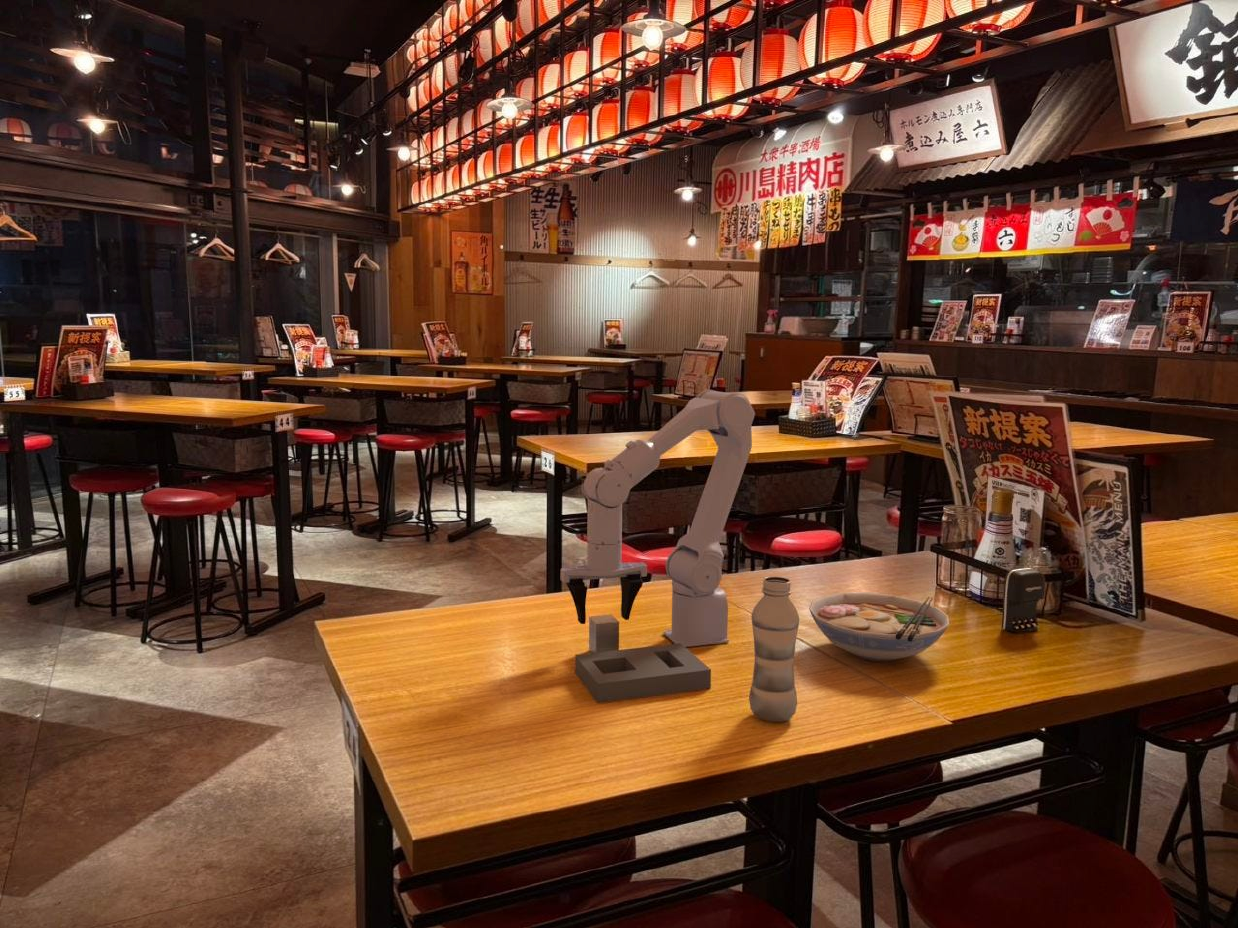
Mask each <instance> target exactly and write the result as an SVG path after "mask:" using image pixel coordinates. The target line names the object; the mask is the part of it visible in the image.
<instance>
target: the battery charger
mask: <svg viewBox="0 0 1238 928" xmlns="http://www.w3.org/2000/svg"><path fill="white" fill-rule="evenodd" d="M1003 583H1004V584H1003V595H1002V597H1003V598H1002V617H1001V629H1002V630H1004V631H1008V632H1010V633H1014V634H1021V633H1029V632H1035V631H1037V630H1038V629H1039V623H1038V620H1037V608H1038V602H1039V601H1040V600H1044V599H1045V596H1046V594H1045V593H1046V577H1045V575H1044V574H1043V572H1041V571H1039V570H1036V569H1034V568H1032V567H1031V568H1030V567H1025V568H1015V569H1011V570H1008V571H1007V573H1006V574H1005V577H1004V582H1003Z"/></svg>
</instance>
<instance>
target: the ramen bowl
mask: <svg viewBox="0 0 1238 928" xmlns="http://www.w3.org/2000/svg"><path fill="white" fill-rule="evenodd" d="M933 599H934V598H933V597H931V599H930V596H929V597H927V599H926V600H925V601H924V602H923V601H920V600H916V599H913V598H912V599H911V598H908V597H902V596H898V595H892V594H883V593H871V592H841V593H836V594H831V595H824V596H822V597H819V598H817V599H815V600H813V601H811V603H810V605H809V608H808V610H809V612H810V614H811V615H810V616H811V617H812V619H813V620H814V622H815V623H816V626H817V627H818V628H819V630H820V631H821V632H822V633H823V635H824V636H825V637H826V638H827V639H828V641H829V642H831V643H832V644H833V645H835V646H836V647H838V648H840V649H842V650H844V651H846V652H848V653H851V654H853V655H855V656H857V657H859V658H861V659H863V660H867V661H873V662H874V661H875V662H891V661H895V660H898V659H903V658H909V657H914V656H916V655H919V654H920V653H922V652H924V651H926V650H927V649H929V648H931V647H932V646H933V645H934V644H935V643H936V642H937V641H938V640H939V639H940V638H941V637H942V636H943V634H945V632H946V631H947V628H948V627H949V625H950V619H949V615H948V614H947V613H945V612H944V611H942V610H941V609H940V608H938V607H936V606H933V605H931V602H932V601H933ZM928 601H929V602H928ZM927 602H928V603H927Z"/></svg>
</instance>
